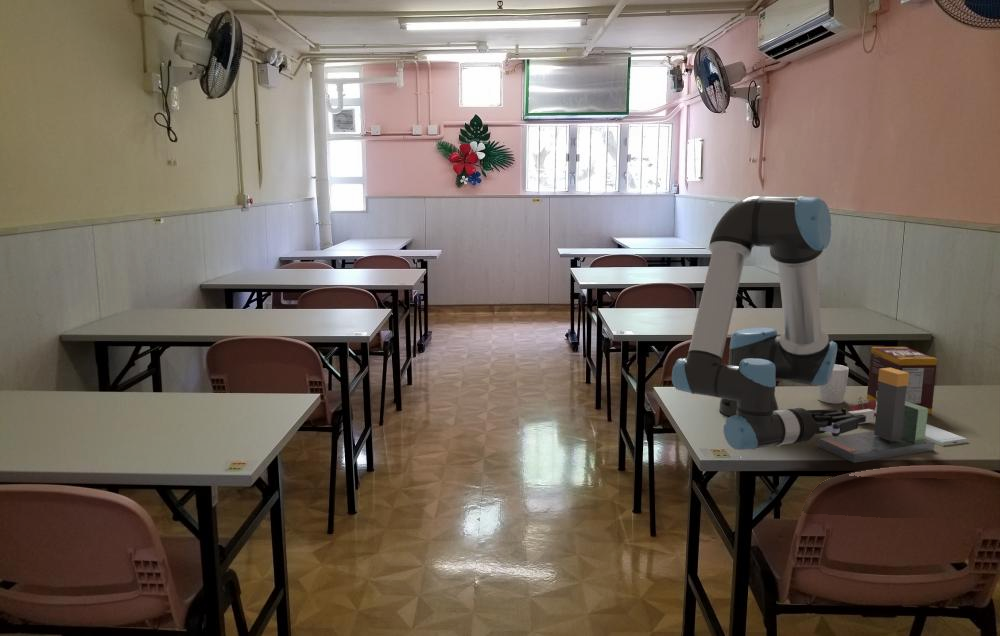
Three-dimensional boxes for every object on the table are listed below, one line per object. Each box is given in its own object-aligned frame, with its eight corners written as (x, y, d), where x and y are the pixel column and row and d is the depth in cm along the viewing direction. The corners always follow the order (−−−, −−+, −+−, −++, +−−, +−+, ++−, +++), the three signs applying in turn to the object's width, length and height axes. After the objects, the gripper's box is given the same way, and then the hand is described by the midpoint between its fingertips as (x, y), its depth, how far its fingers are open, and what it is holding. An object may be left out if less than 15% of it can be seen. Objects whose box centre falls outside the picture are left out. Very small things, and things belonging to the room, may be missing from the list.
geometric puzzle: (842, 415, 195) (864, 394, 191) (842, 408, 201) (864, 387, 198) (864, 434, 193) (887, 413, 190) (864, 426, 199) (886, 406, 196)
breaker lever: (891, 441, 174) (898, 374, 171) (872, 434, 179) (879, 368, 176) (902, 440, 175) (909, 372, 172) (883, 432, 180) (890, 367, 177)
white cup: (810, 397, 219) (813, 363, 217) (836, 396, 220) (839, 363, 218) (825, 404, 211) (828, 370, 209) (851, 404, 212) (854, 370, 210)
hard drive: (900, 425, 190) (942, 441, 178) (925, 422, 192) (968, 437, 181) (899, 432, 190) (942, 448, 179) (924, 428, 193) (967, 444, 181)
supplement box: (900, 398, 218) (905, 346, 215) (932, 414, 203) (938, 358, 200) (865, 398, 218) (870, 346, 215) (894, 414, 202) (900, 358, 200)
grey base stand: (853, 462, 167) (857, 420, 166) (818, 446, 178) (821, 406, 176) (933, 450, 175) (938, 409, 174) (895, 435, 186) (899, 396, 184)
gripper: (768, 433, 172) (848, 422, 180) (809, 452, 160) (892, 439, 168) (770, 401, 171) (850, 392, 179) (812, 418, 159) (896, 407, 167)
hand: (871, 415), depth 174 cm, fingers closed
